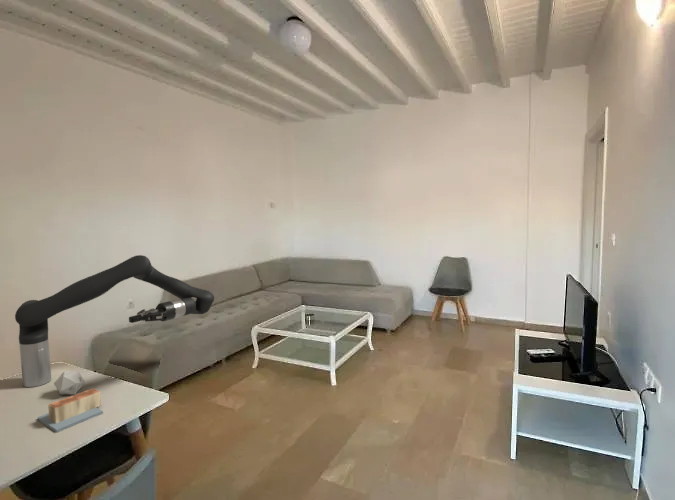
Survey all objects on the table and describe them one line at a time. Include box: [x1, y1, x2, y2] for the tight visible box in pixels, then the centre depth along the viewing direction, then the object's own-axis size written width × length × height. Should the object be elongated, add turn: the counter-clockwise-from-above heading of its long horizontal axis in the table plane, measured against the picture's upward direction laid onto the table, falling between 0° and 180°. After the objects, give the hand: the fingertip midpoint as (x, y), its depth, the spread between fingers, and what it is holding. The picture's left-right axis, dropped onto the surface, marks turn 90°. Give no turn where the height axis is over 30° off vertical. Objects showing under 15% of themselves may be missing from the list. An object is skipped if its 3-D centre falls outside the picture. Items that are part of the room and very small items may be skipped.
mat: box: [37, 407, 104, 433], centre depth 134 cm, size 14×14×1 cm
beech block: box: [47, 388, 102, 423], centre depth 135 cm, size 5×5×14 cm
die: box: [53, 370, 86, 396], centre depth 151 cm, size 8×9×10 cm
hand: (130, 320), depth 150 cm, fingers closed
